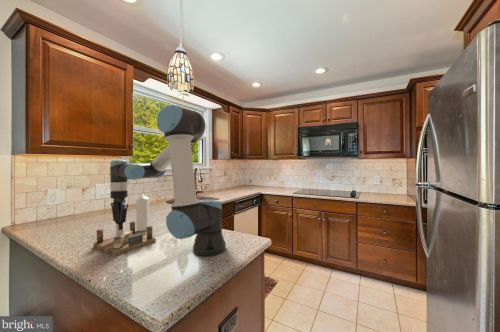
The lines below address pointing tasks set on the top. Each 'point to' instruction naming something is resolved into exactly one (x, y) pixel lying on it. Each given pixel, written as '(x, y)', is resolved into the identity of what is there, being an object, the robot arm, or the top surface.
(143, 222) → the milk
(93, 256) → the top surface
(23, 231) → the top surface
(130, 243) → the wooden peg board
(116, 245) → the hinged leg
